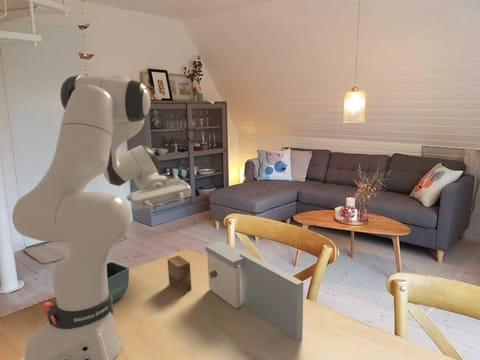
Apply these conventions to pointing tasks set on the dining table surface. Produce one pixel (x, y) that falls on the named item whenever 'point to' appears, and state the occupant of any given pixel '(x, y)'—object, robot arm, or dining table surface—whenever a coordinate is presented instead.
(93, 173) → the robot arm
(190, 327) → the dining table surface
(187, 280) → the walnut block
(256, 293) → the wall
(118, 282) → the flower pot
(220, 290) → the door panel
